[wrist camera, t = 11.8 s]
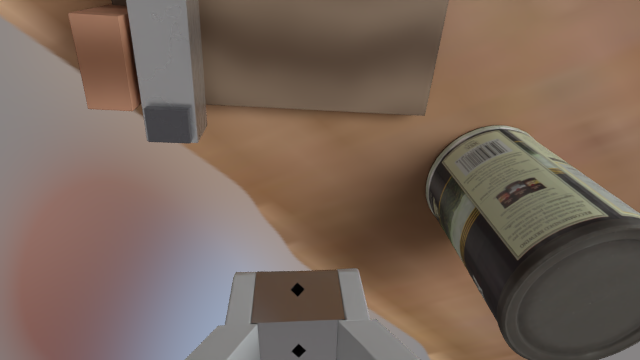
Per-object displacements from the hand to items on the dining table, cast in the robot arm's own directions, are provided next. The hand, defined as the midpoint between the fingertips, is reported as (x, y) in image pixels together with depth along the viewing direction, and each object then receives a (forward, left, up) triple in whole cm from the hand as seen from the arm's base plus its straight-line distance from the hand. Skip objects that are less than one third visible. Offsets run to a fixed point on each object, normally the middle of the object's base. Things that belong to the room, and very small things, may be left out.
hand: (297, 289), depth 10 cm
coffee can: (+8, +17, -22) cm, 28 cm away
